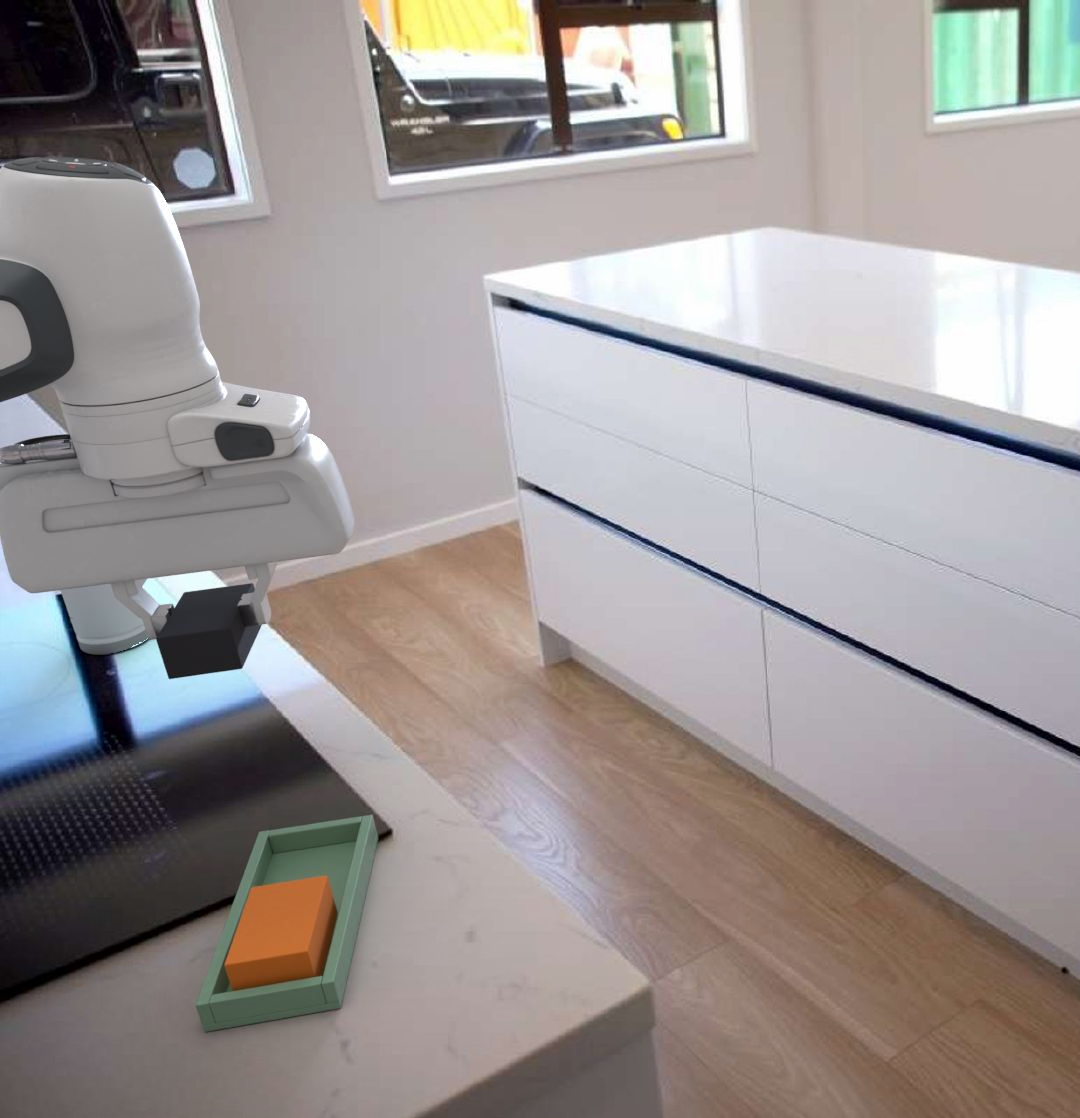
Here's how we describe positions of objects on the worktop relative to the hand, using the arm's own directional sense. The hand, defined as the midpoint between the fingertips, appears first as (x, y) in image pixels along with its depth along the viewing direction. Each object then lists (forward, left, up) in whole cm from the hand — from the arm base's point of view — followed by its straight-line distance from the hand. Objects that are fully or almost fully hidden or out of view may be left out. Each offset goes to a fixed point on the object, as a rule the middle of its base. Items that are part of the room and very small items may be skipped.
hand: (212, 628), depth 84 cm
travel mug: (-20, +34, -15) cm, 42 cm away
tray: (+4, -13, -15) cm, 20 cm away
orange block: (+5, -16, -15) cm, 22 cm away
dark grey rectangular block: (0, 0, -2) cm, 2 cm away
